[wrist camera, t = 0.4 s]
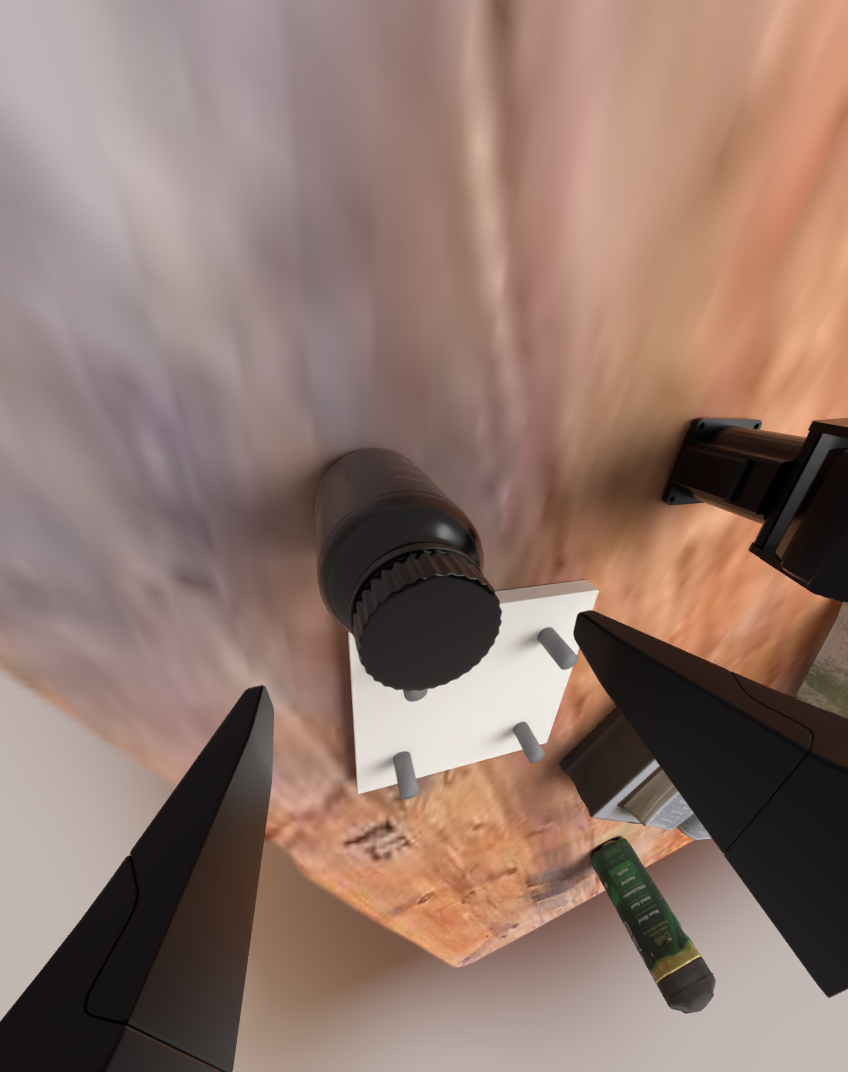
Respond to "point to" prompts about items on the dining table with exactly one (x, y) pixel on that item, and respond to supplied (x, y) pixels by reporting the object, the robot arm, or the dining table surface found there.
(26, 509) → the dining table surface
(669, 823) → the bible
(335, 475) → the supplement bottle
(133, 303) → the dining table surface
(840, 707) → the grocery bag
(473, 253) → the dining table surface
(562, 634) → the peg board
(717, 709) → the robot arm
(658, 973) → the coffee jar
